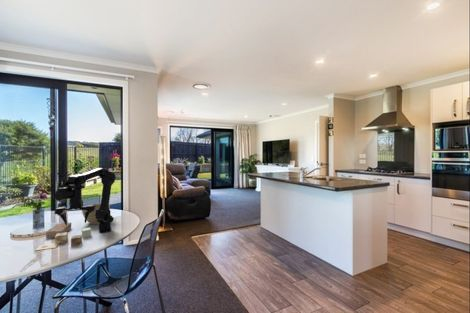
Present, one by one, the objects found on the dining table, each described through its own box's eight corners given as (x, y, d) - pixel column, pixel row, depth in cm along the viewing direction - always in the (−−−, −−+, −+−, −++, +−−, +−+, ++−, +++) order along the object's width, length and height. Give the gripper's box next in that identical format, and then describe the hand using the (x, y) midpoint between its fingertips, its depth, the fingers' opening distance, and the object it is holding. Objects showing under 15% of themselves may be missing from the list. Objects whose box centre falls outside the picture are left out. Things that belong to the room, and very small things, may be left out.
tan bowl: (115, 219, 178) (115, 204, 177) (99, 227, 160) (99, 210, 159) (93, 218, 180) (93, 203, 179) (75, 226, 162) (75, 209, 161)
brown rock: (61, 237, 141) (61, 230, 141) (45, 238, 139) (45, 231, 139) (71, 228, 157) (71, 222, 157) (57, 229, 155) (57, 223, 155)
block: (90, 234, 146) (89, 227, 146) (91, 236, 143) (90, 229, 143) (81, 236, 144) (81, 229, 144) (82, 238, 140) (82, 231, 140)
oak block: (67, 239, 138) (67, 232, 138) (65, 242, 134) (65, 235, 133) (57, 240, 136) (57, 233, 136) (55, 243, 131) (54, 236, 131)
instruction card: (59, 243, 132) (59, 242, 132) (55, 247, 126) (55, 247, 126) (39, 245, 128) (39, 245, 128) (35, 250, 122) (35, 250, 122)
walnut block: (81, 242, 134) (81, 234, 134) (80, 245, 130) (80, 237, 130) (72, 243, 132) (72, 235, 132) (71, 246, 128) (70, 238, 128)
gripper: (96, 193, 142) (96, 218, 142) (60, 195, 134) (60, 221, 134) (93, 196, 131) (93, 223, 132) (54, 199, 124) (54, 227, 124)
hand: (76, 223), depth 131 cm, fingers open, 9 cm apart
